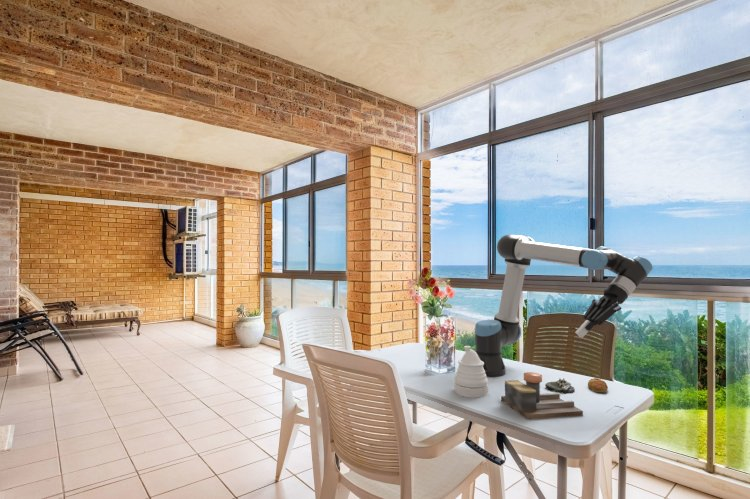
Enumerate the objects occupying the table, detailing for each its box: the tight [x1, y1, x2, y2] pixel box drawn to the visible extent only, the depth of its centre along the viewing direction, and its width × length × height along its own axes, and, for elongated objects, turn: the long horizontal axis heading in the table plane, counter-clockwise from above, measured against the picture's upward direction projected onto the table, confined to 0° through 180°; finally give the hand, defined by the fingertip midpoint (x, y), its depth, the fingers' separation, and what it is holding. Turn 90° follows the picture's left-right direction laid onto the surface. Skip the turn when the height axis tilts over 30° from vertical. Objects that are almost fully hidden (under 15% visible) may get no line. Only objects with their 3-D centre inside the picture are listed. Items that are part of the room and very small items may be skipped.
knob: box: [523, 371, 543, 403], centre depth 139 cm, size 6×6×10 cm
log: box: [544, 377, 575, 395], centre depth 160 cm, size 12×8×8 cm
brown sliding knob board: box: [500, 379, 584, 421], centre depth 139 cm, size 18×20×8 cm
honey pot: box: [454, 345, 489, 398], centre depth 156 cm, size 13×13×18 cm
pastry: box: [587, 377, 609, 394], centre depth 158 cm, size 9×7×4 cm
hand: (578, 335), depth 147 cm, fingers closed
